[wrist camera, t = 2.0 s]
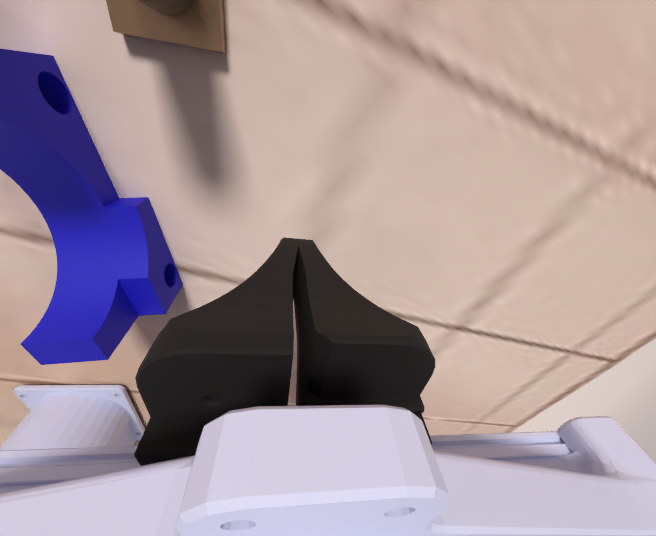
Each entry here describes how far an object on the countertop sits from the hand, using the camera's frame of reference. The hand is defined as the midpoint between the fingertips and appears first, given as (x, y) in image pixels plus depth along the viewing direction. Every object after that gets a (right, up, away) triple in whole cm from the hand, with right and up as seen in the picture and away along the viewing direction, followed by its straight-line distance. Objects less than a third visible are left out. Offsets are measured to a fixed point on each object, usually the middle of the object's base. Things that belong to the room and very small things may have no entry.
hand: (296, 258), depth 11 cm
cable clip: (-11, +3, +3) cm, 12 cm away
